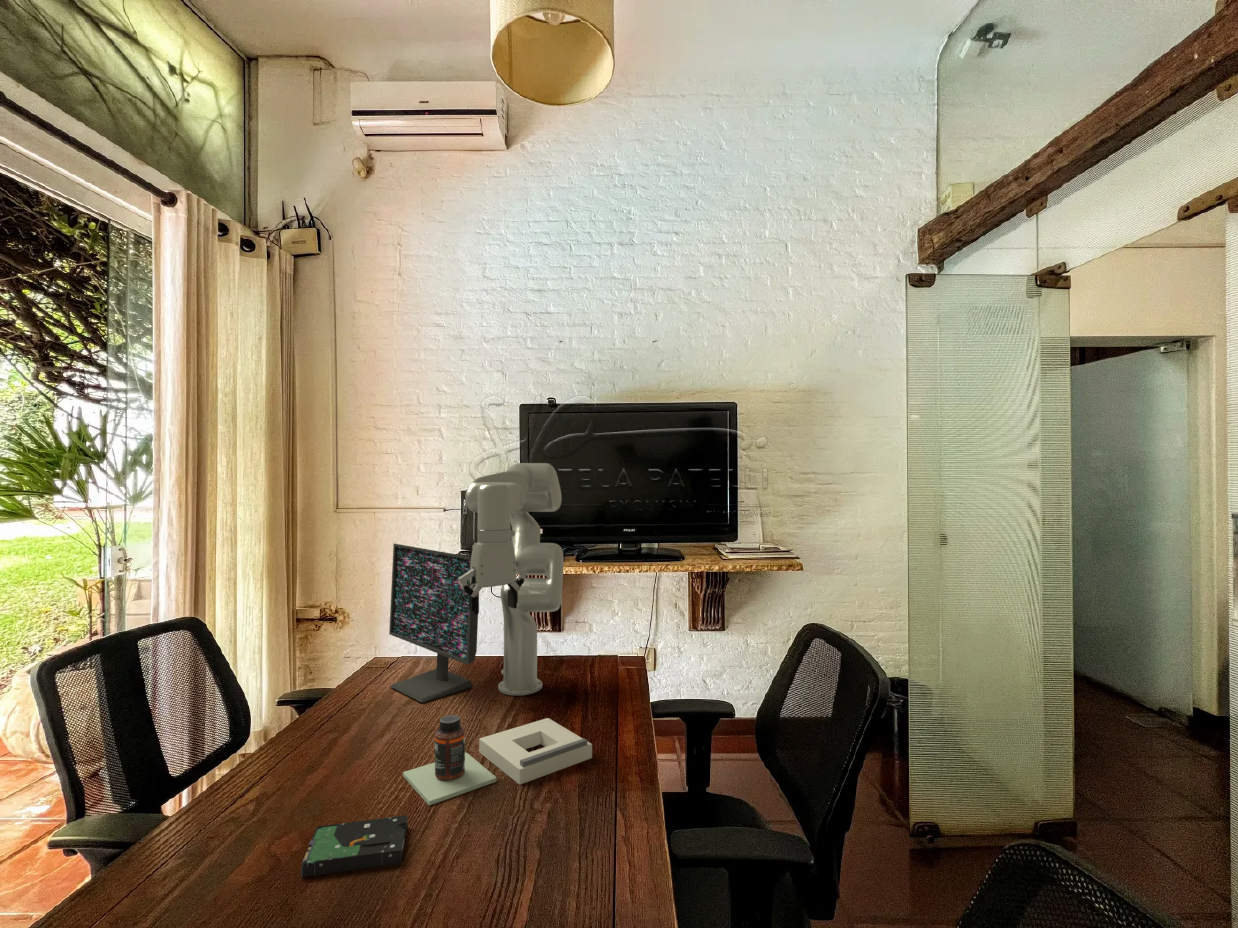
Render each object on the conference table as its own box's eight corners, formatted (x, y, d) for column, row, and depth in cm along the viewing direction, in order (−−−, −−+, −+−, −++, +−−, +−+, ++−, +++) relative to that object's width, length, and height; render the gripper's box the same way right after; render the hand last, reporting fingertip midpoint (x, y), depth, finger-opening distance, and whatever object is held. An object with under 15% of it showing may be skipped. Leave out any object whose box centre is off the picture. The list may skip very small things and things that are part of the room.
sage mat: (402, 776, 124) (402, 772, 124) (466, 755, 133) (466, 752, 133) (429, 805, 113) (429, 801, 113) (496, 781, 122) (496, 777, 122)
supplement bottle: (470, 769, 125) (471, 714, 125) (453, 783, 120) (454, 726, 120) (446, 765, 127) (446, 711, 127) (428, 778, 122) (428, 722, 122)
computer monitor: (369, 677, 183) (370, 545, 184) (419, 664, 195) (419, 540, 196) (447, 717, 154) (448, 560, 154) (499, 700, 166) (500, 553, 166)
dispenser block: (479, 751, 135) (479, 733, 135) (547, 730, 146) (547, 713, 146) (519, 784, 121) (519, 764, 121) (592, 757, 132) (592, 739, 132)
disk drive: (407, 829, 107) (315, 841, 103) (407, 813, 107) (316, 824, 103) (401, 866, 97) (300, 881, 93) (402, 849, 97) (300, 862, 93)
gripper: (518, 533, 149) (518, 602, 149) (452, 537, 138) (451, 612, 138) (534, 535, 143) (534, 607, 143) (466, 540, 133) (465, 619, 132)
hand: (493, 610), depth 141 cm, fingers open, 9 cm apart
